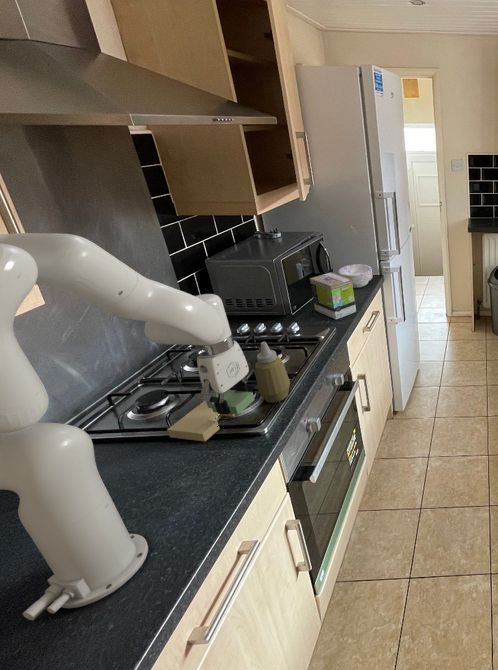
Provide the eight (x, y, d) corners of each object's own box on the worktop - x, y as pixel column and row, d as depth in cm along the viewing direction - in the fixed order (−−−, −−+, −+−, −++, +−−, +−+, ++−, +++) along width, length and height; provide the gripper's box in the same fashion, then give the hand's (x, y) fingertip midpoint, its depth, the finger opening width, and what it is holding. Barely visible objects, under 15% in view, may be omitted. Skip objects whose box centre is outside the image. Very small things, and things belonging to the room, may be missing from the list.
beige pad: (205, 441, 104) (202, 433, 103) (169, 437, 105) (166, 429, 104) (245, 405, 116) (243, 398, 115) (214, 402, 118) (211, 395, 117)
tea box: (357, 311, 172) (352, 278, 167) (335, 320, 165) (329, 286, 159) (336, 302, 181) (330, 271, 175) (314, 310, 173) (308, 277, 167)
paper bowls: (371, 289, 195) (369, 273, 192) (337, 291, 192) (334, 275, 189) (375, 277, 208) (373, 263, 205) (343, 279, 206) (341, 264, 203)
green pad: (238, 415, 104) (235, 407, 103) (203, 411, 105) (201, 403, 105) (254, 399, 110) (252, 392, 109) (222, 396, 111) (219, 388, 110)
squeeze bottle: (279, 407, 116) (265, 352, 109) (254, 403, 117) (238, 348, 110) (298, 390, 123) (286, 337, 116) (274, 386, 125) (261, 334, 118)
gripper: (199, 365, 92) (221, 429, 99) (254, 328, 108) (269, 386, 115) (169, 362, 93) (193, 426, 100) (228, 326, 109) (245, 383, 116)
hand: (233, 404), depth 107 cm, fingers closed on green pad, 6 cm apart
